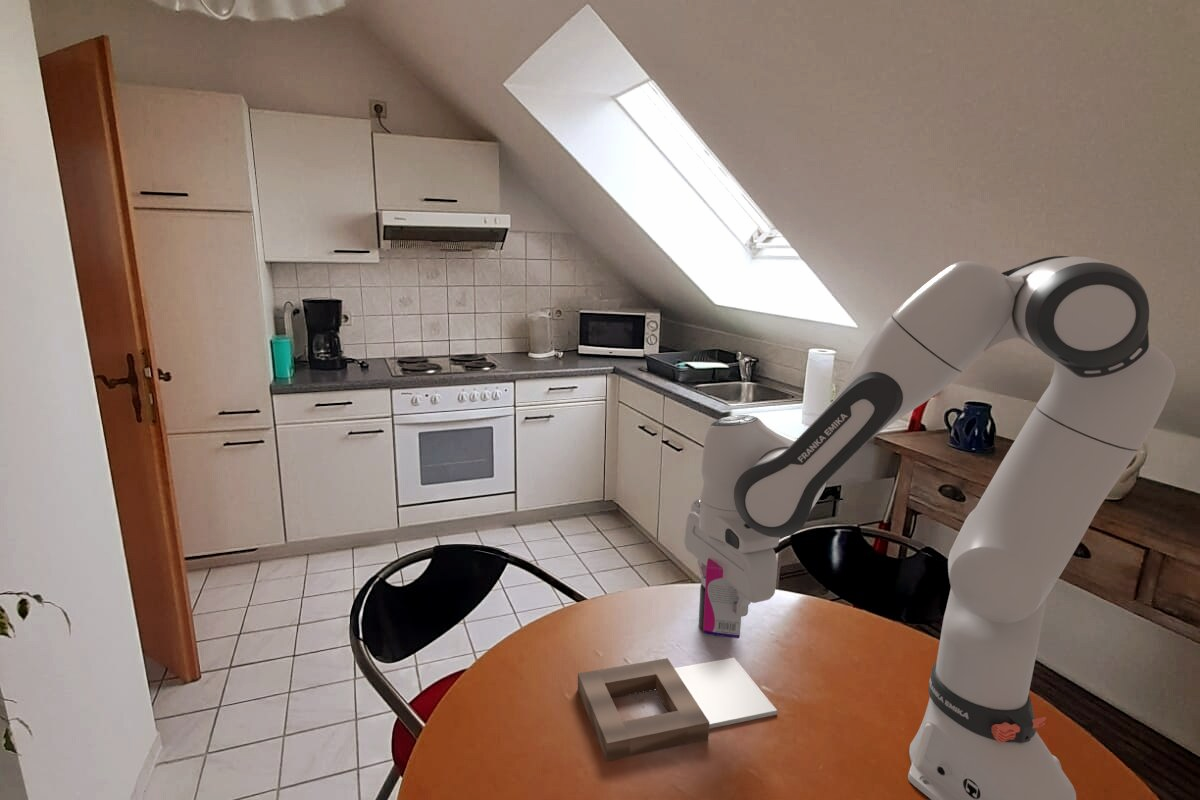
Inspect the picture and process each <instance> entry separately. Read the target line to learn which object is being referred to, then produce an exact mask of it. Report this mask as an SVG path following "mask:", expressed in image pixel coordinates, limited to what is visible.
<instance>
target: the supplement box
mask: <svg viewBox="0 0 1200 800" xmlns="http://www.w3.org/2000/svg"><path fill="white" fill-rule="evenodd" d="M739 598H740V597H738V591H737V590H735V589H734V588H733V587H732V586H731V585H729V584H728V583H727V582H726V581H724V579H723V568H722V567H720V566H719V565H718V564H717V563H715V562H714V561H712V560H711V559H710V558H708V561H707V567H706V585H705V604H704V623H703V630H702V632H703V634H705V635H711V636H719V637H726V638H732V639H733V638H734V639H740V636H741V625H742V624H741V623H742V617H739V616H738V615H736V614H735V613H734V612H733V602H738V600H739Z"/></svg>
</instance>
